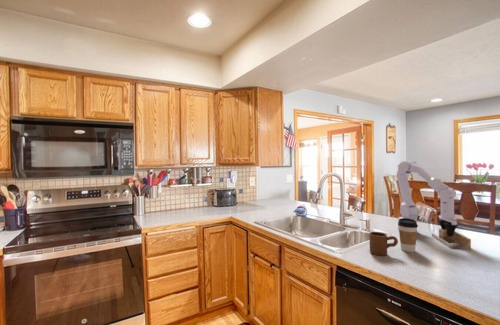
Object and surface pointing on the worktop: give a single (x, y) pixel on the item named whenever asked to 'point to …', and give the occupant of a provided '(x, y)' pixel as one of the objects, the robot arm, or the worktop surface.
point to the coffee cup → (408, 234)
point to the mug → (381, 243)
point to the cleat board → (459, 238)
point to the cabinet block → (446, 236)
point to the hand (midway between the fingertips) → (447, 234)
